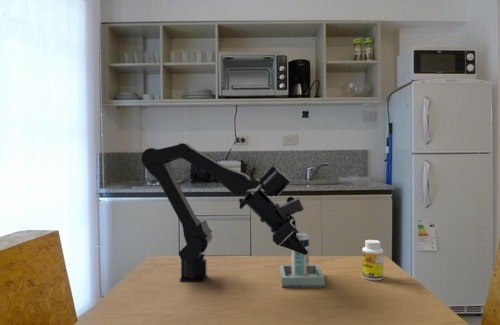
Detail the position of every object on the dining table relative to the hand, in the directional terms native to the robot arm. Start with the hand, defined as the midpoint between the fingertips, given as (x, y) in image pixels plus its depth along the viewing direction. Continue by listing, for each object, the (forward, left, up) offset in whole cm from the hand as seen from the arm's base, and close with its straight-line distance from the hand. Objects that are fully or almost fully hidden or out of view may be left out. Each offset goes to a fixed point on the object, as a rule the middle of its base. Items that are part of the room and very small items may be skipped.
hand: (305, 249), depth 100 cm
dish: (-1, 0, -9) cm, 9 cm away
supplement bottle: (+19, +2, -9) cm, 21 cm away
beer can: (-2, 0, -8) cm, 8 cm away
